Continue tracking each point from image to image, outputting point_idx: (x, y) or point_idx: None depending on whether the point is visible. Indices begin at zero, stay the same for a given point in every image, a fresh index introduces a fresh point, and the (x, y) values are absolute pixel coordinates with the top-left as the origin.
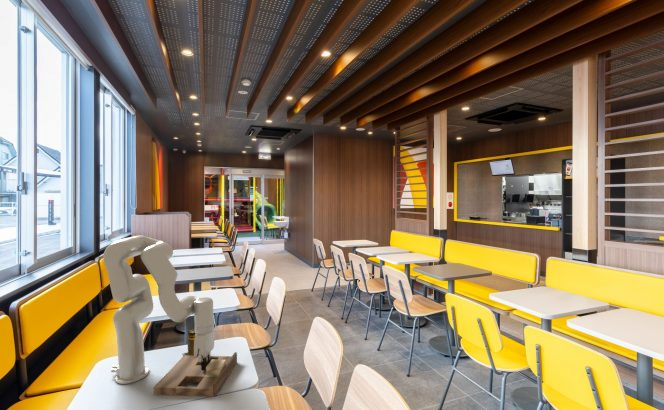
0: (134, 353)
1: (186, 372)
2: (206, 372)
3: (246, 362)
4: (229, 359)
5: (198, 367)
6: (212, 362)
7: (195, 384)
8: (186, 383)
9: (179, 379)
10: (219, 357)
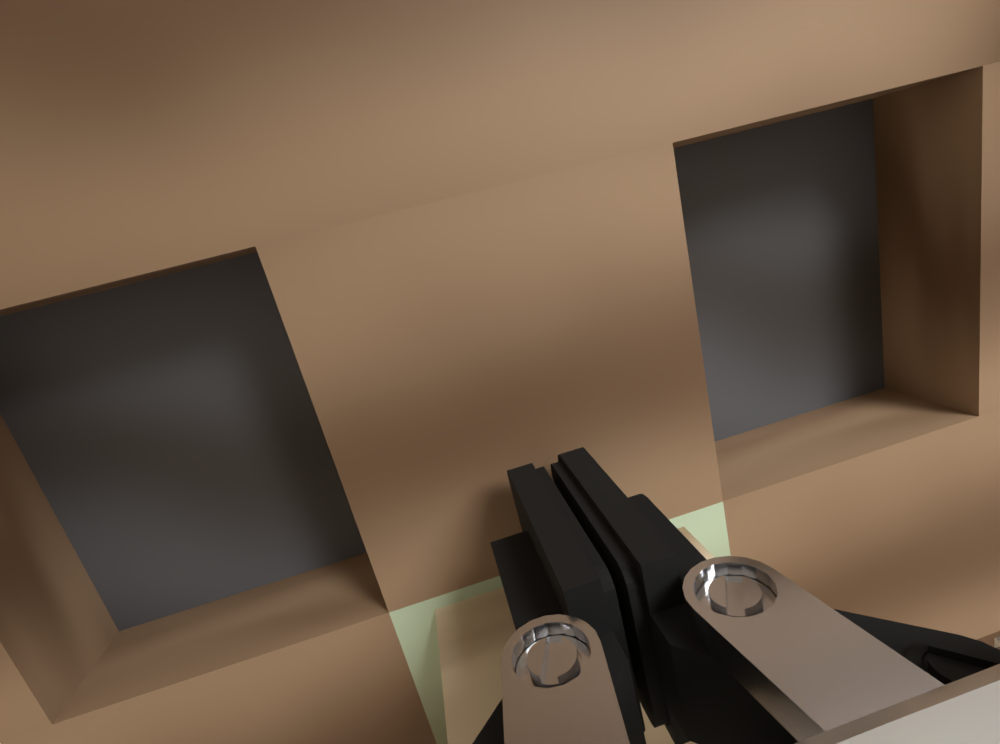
0: None
1: (375, 154)
2: (441, 650)
3: None
4: (925, 615)
5: (616, 284)
6: (668, 732)
7: (298, 446)
8: (257, 280)
9: (71, 198)
10: (973, 426)
